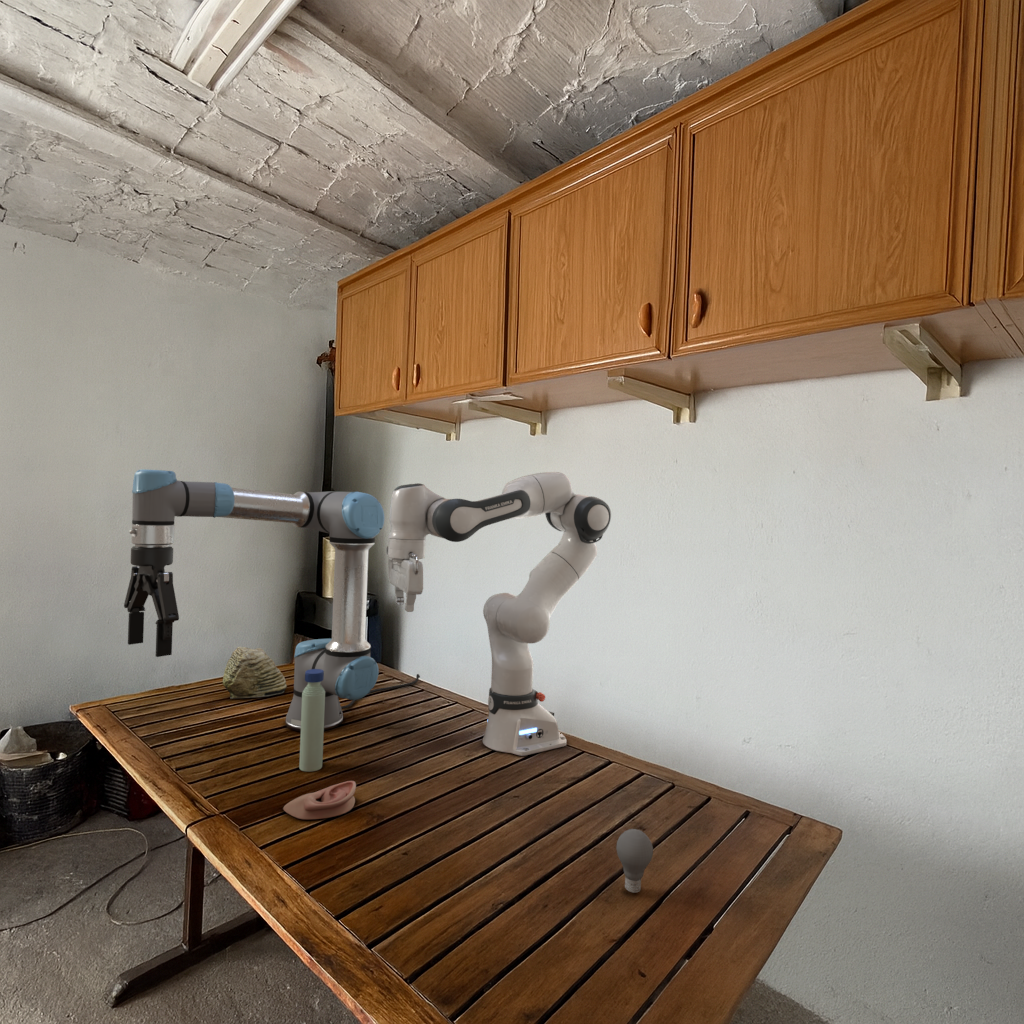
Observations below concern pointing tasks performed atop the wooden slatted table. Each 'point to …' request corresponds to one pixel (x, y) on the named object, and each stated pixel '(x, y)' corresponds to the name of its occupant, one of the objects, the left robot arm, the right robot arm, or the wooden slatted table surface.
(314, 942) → the wooden slatted table surface
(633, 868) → the light bulb
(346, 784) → the anatomical model
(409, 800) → the wooden slatted table surface
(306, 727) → the bottle
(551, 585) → the right robot arm
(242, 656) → the fossil
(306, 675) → the cap
